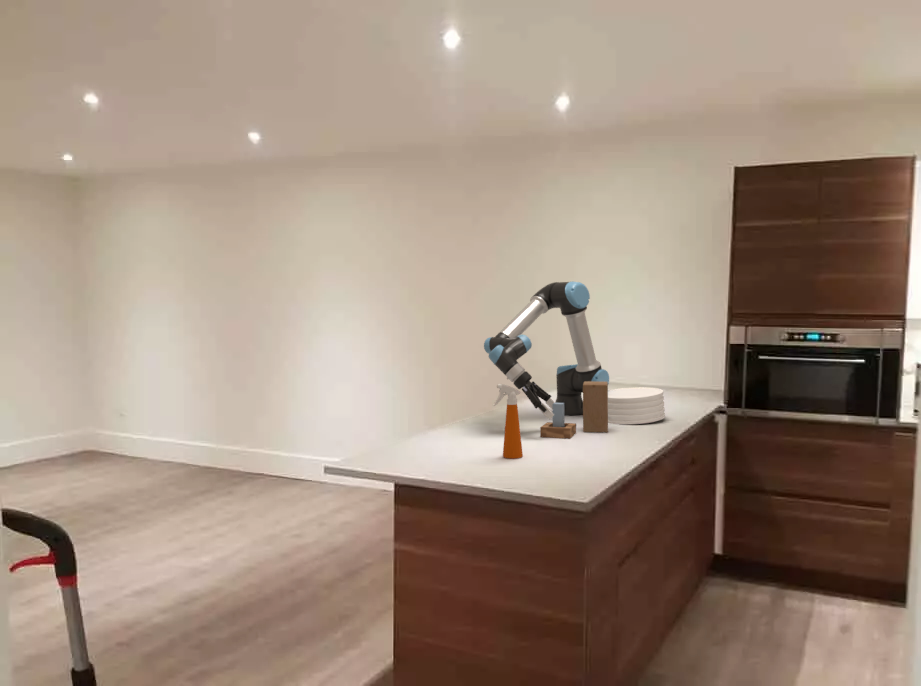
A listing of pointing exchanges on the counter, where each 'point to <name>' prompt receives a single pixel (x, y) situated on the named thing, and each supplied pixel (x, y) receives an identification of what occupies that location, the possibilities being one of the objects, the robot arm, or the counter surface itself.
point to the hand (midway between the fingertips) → (555, 414)
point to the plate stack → (635, 405)
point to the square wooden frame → (558, 430)
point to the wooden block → (595, 406)
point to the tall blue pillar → (558, 415)
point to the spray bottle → (511, 423)
